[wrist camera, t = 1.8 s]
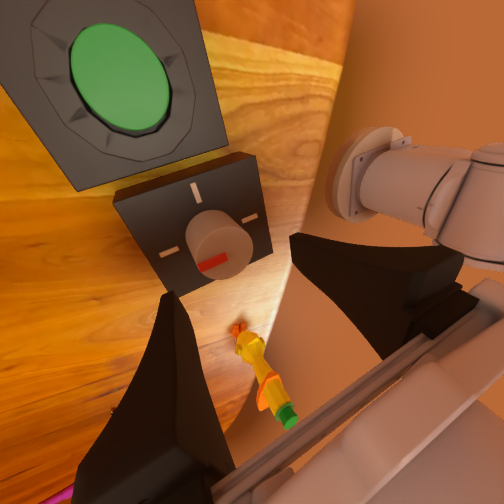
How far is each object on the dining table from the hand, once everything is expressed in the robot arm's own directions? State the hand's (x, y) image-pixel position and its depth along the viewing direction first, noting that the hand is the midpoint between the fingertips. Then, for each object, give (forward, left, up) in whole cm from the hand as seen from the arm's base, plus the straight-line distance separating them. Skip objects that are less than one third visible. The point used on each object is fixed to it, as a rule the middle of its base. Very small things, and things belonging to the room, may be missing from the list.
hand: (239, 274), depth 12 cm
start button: (+2, -10, -5) cm, 11 cm away
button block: (+1, -9, -9) cm, 13 cm away
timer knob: (0, 0, -6) cm, 6 cm away
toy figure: (+1, +17, -9) cm, 19 cm away
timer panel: (0, 0, -9) cm, 9 cm away
